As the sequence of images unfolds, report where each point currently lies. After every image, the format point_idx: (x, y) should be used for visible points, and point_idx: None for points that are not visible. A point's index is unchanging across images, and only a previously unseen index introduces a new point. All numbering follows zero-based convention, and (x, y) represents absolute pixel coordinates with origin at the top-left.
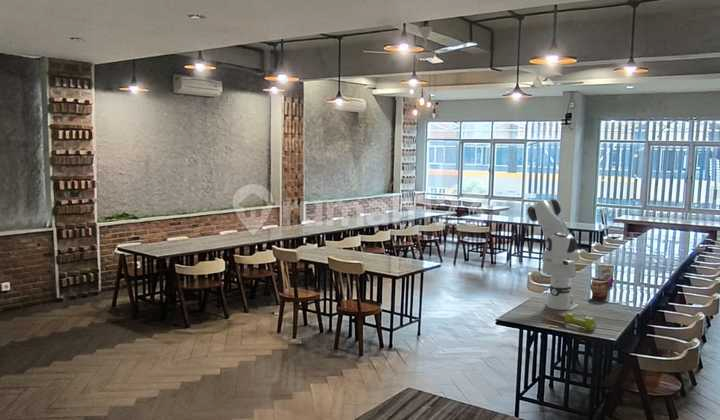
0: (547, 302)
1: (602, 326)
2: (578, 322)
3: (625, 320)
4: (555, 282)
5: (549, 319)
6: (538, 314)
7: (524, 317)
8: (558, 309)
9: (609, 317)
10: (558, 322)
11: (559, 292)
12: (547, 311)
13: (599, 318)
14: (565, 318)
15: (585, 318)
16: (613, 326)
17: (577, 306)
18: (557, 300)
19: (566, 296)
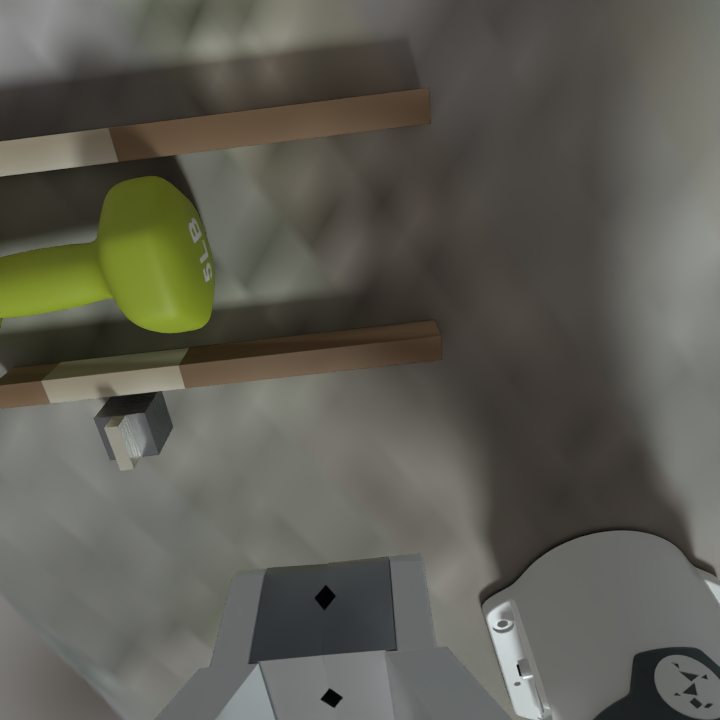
0: (703, 586)
1: (31, 457)
2: (32, 250)
3: (102, 677)
4: (414, 555)
5: (334, 102)
6: (613, 297)
7: (673, 48)
8: (559, 546)
9: (205, 657)
10: (209, 115)
11: (634, 702)
12: (602, 445)
13: (219, 596)
14: (148, 188)
15: (115, 421)
16: (2, 521)
17: (507, 690)
18: (609, 614)
19: (561, 698)
